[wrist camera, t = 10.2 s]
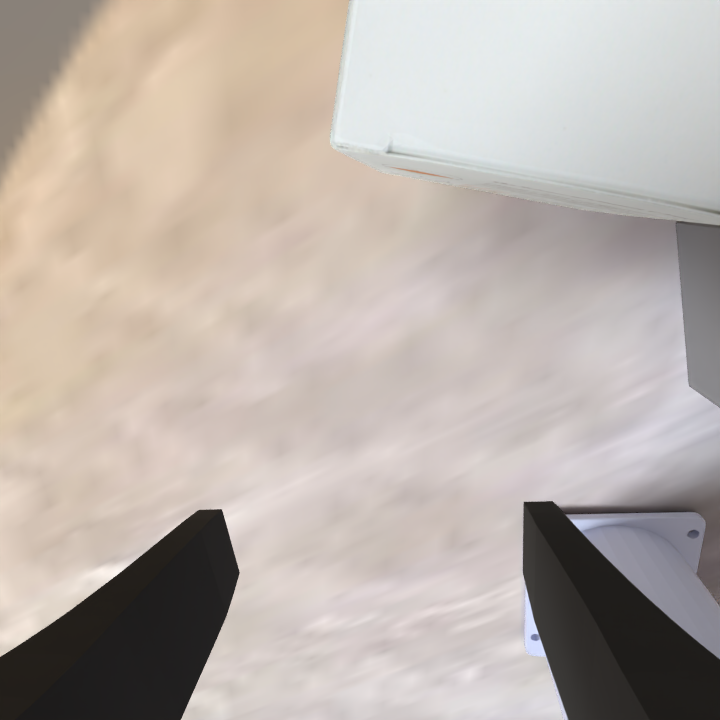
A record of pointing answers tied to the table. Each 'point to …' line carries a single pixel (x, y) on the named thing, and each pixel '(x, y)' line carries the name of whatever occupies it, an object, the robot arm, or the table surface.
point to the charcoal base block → (701, 304)
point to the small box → (540, 100)
